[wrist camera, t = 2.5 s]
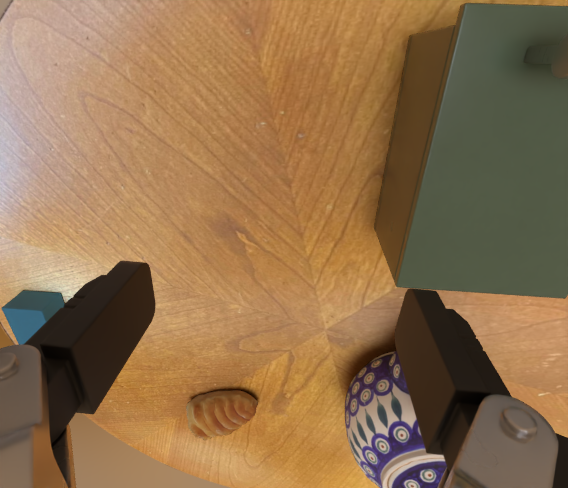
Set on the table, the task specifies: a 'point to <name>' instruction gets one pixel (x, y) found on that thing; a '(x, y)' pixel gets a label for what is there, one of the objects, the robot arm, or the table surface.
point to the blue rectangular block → (31, 312)
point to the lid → (496, 160)
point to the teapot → (388, 428)
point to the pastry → (219, 413)
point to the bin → (410, 136)
